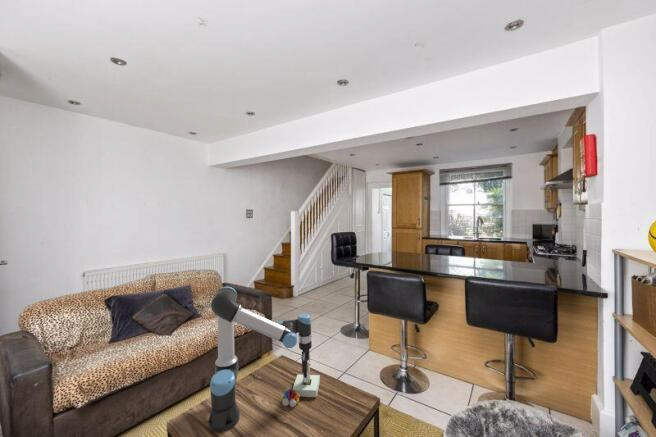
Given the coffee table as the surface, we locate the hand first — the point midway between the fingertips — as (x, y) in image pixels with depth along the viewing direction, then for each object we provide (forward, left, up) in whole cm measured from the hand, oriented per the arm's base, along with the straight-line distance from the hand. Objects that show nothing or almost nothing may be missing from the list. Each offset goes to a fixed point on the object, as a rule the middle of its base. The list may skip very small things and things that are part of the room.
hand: (306, 379), depth 164 cm
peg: (0, 0, -3) cm, 3 cm away
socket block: (0, 0, -6) cm, 6 cm away
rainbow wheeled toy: (-7, -12, -6) cm, 15 cm away
